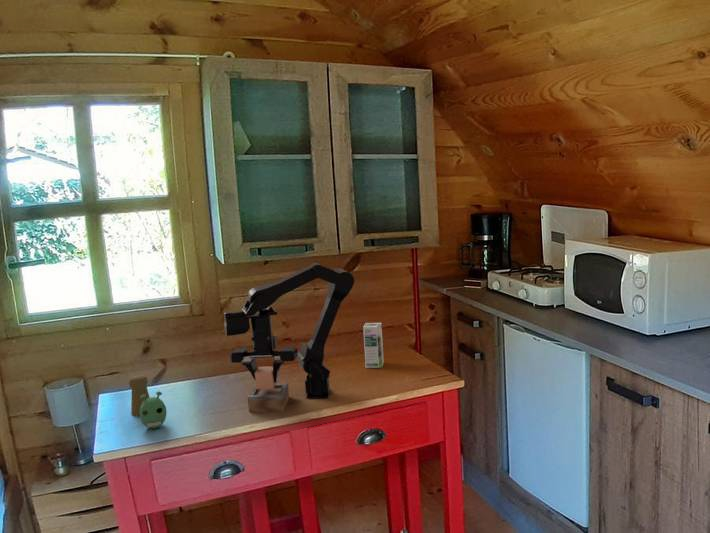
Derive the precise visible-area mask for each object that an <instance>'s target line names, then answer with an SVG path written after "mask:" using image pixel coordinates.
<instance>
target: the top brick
mask: <svg viewBox="0 0 710 533" xmlns="http://www.w3.org/2000/svg"><path fill="white" fill-rule="evenodd" d="M255 380H256V381H255ZM254 381H255V384H256V389H273V388H274V387H275V385H276V384H277V383H278V381H277V382H276V383H275V382H274V375H273V365H272V366H259V367H257V371H256V372H255V379H254Z"/></svg>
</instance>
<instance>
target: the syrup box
mask: <svg viewBox="0 0 710 533" xmlns="http://www.w3.org/2000/svg"><path fill="white" fill-rule="evenodd" d="M362 330H363V333H362V334H363V344H364V345H363V346H364V360H365V361H364V362H365V365H364V367H365V368H366V369H382V368H383V366H384V363H385V361H384V360H385V359H384V346H383V345H384V344H383V328H382V322H365V324H364V325H363V328H362Z"/></svg>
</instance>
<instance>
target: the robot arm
mask: <svg viewBox="0 0 710 533" xmlns="http://www.w3.org/2000/svg"><path fill="white" fill-rule="evenodd" d="M316 279H320V280H321V281H322V280H323V281H325V282H327V284H328V285H327V296H326V299H325V302H324V304H323V306H322V310H321V312H320V314H319V318H318V319H317V323H316V326H315V327H314V331H313V333H312V335H311V338H310V339H309V341H308V342H307V343H303V342H302V343H301V346H300V350H299V352H298V348H297V347H296V346H291V345H290V346H289V345H288V346H283V347H282V348H281V349H280V350H279V349H278V350H277V349H276V348H278V344H279V343H278V339H279V338H278V336H277V335H274V331H273V328H272V319H271V317H272V316H277V315H278V312H277V311H276V310H275V309H274V308H273V307H272V306H271V305H273V304H274V303H276V302H277V301H278V299H279V298H281V297H282V296H283V295H285V294H287V293H290V292H292V291H294V290H296V289H298V288H300V287H302V286H305V285H306V284H309V283H310V282H312V281H315V280H316ZM354 285H355V277H354V275H353V274H352V273H350V272H349V271H347V270H344V269H342V268H336V269H333V268H330V267H327V266H323V265H321V264H320V263H317V262H313V263H310V264H309V265H308V266H306V267H304V268H302V269H300V270H297V271H295V272H294V273H291V274H289V275H287V276H285V277H284V278H282V279H281V278H280V279H279V280H277V281H274V282H271V283H266V284H265V283H264V284H261V285H258V286H255V287H252V288H251V289H250V290H248V292H247V300H246V301H245V303H244V304H243V306H242V308H241V310H237V311H225V312H223V314H224V318H223V319H224V321H223V326H224V332H225V337H234V336H237V335H238V336H239V335H246V334H247V332H249V331H250V329H251V337H250V338H251V341H252V347H253V350H251V351H250V350H249V348H248V347H236V348H235V349H234V350H233V351H232V352H231V353H230V355H229V358H230V363H232V364H237V363H239V364H240V363H241V365H242V366H245V367H246V369H247V370H248V371H249V373H250V375H251V376H252V377H253V380H254V381H255V382H256V380H255V372H256V371H257V369H258V366H257V361H258V360H257V358H259V359H260V358H274V361H273V362H272V366H273V375H274V382H275V383H276V382H277V383H278V378H279V377H278V376H279V374H280V370H281V366H282V364H283V365H284V363H285V362H294V361H295V360H296V359H297V357H298V359H297V361H298V365H299V366H300V367H301V368H302V370H303V371H304V372H305V373H306V374H307V375H306V378H305V380H304V386H305V394H306V399H323V398H324V399H327V398H329V396H330V393H331V391H332V389H331V388H330V378H329V377H330V374H331V370H330V369H329V368H328V367H327V366H326V365H325V364H324V358H325V345H326V343H327V339H328V337H329V335H330V332H331V329H332V327H333V325H334V322H335V319H336V317H337V315H338V311H339V310H340V307H341V304H342V302H343V301H344V300H345V299H346V298H347V296H349V294H350V292H351V291H352V289H353V287H354ZM250 325H251V328H250Z"/></svg>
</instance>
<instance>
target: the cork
mask: <svg viewBox="0 0 710 533" xmlns="http://www.w3.org/2000/svg"><path fill="white" fill-rule="evenodd" d="M148 382H149V380H148V377H147V376H146V375H145V374H136V375H133V376H131V377H130V378H129V380H128V385H129V386H128V387H129V388H131V406H130V407H131V410H130V411H131V415H132V416H135V417H140V414H139V412H140V407H141V404H142V403H143V402H144V399H141V398H140V397H141V395H143V394H144V395H146V397H145V399H148V398H151V396H150V394H149V390H148V387H147V385H148V384H149V383H148Z"/></svg>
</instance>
